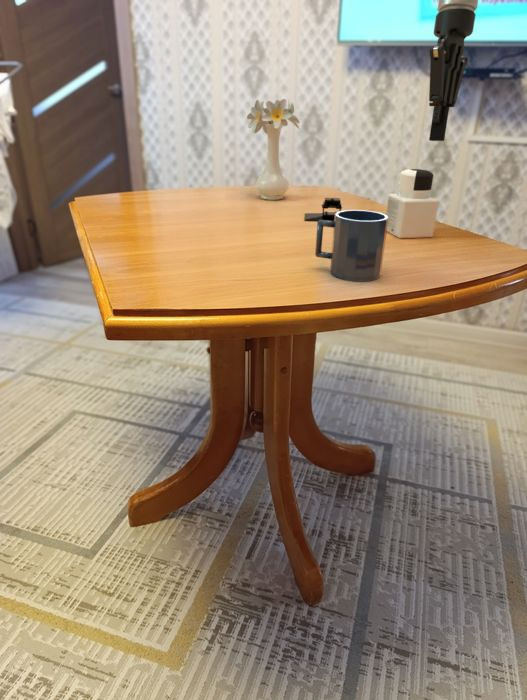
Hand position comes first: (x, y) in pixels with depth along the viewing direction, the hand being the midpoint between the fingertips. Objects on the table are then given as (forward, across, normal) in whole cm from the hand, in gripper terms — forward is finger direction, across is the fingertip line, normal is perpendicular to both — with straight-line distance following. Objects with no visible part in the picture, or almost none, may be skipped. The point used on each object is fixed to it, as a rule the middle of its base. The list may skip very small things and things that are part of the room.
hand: (436, 140), depth 108 cm
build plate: (+18, +9, -19) cm, 28 cm away
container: (+19, +8, 0) cm, 21 cm away
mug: (+23, +39, +7) cm, 46 cm away
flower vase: (+15, +1, -47) cm, 49 cm away
